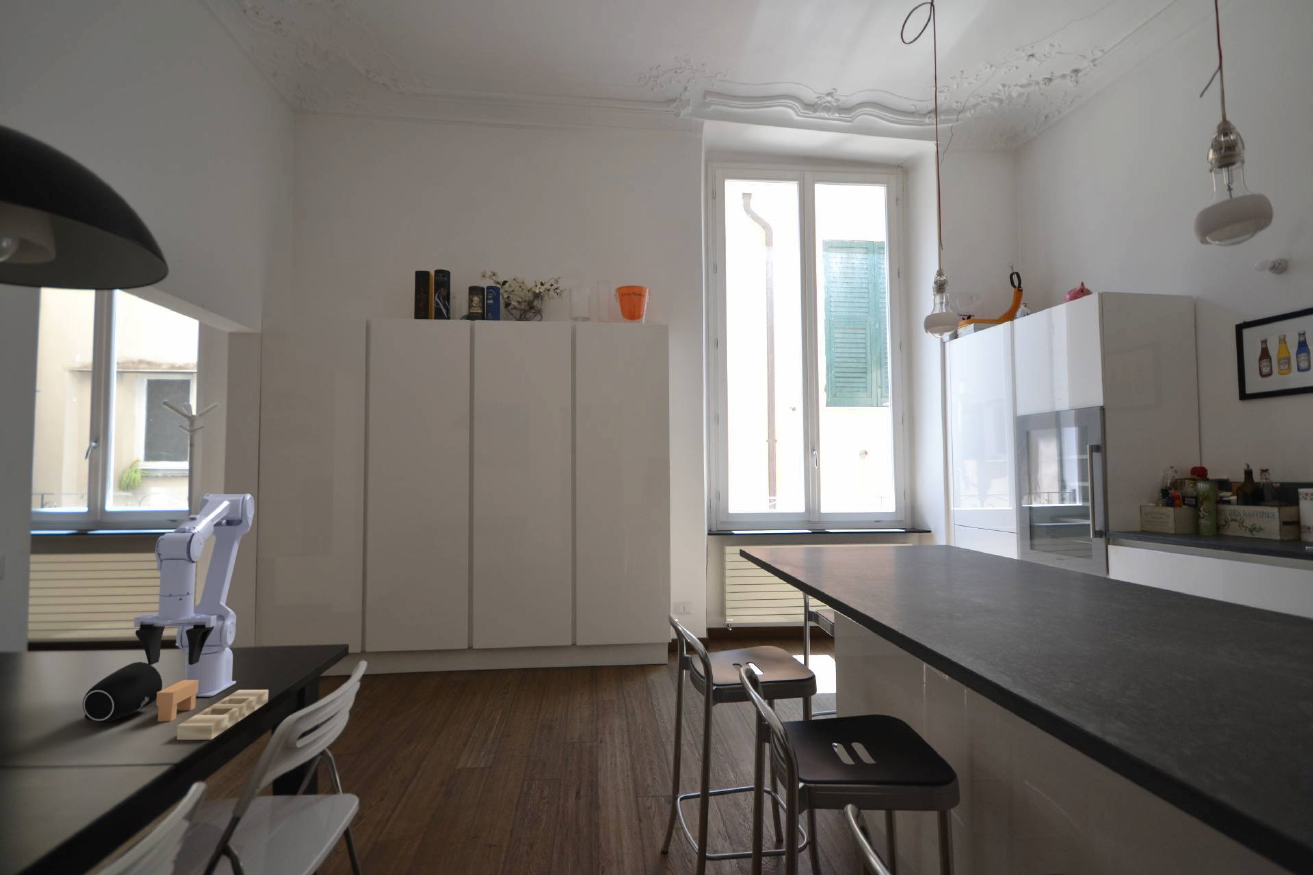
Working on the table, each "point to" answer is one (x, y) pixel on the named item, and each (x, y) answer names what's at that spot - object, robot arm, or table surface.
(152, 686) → the black cylindrical speaker
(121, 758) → the table surface
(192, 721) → the rail
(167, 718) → the clip
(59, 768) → the table surface
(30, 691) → the table surface
